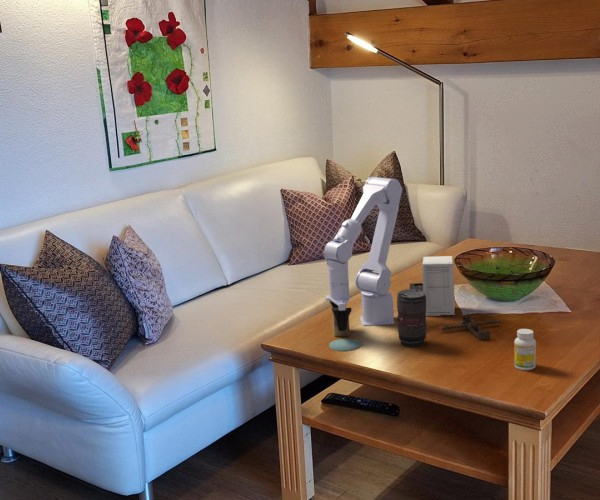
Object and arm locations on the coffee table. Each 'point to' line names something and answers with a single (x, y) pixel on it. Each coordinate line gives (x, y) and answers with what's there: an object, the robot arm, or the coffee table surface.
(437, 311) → the supplement box
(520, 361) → the supplement bottle
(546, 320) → the coffee table surface
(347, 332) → the walnut block
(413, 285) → the vhs tape
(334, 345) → the coaster
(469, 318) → the dark cross-shaped bracket
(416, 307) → the camera lens
